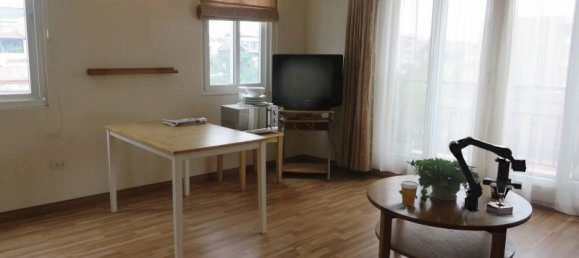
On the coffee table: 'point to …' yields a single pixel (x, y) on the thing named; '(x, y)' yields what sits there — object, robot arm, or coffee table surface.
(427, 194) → the coffee table surface
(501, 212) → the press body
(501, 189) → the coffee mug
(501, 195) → the plunger
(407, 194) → the beer cup
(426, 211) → the coffee table surface
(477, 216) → the coffee table surface
